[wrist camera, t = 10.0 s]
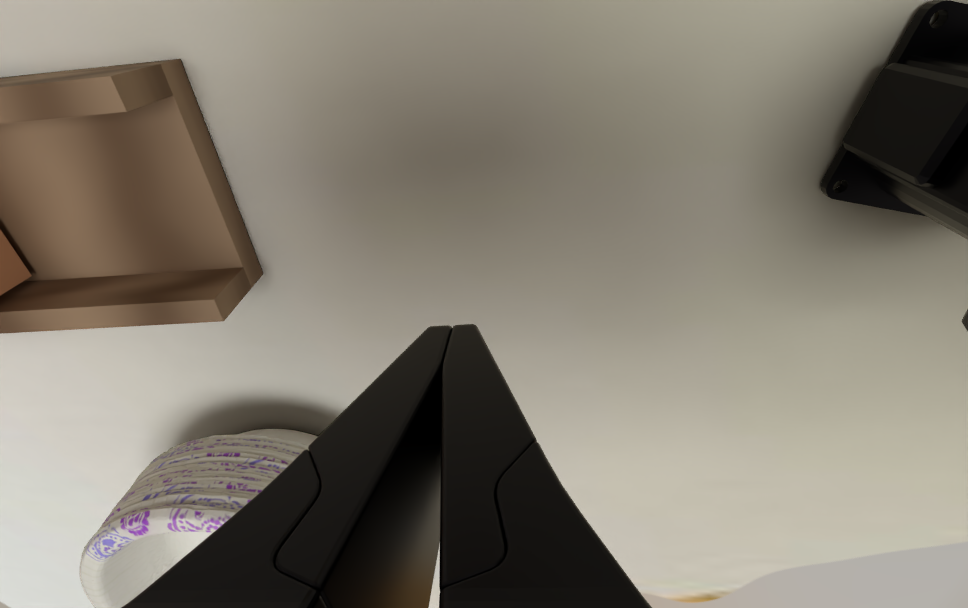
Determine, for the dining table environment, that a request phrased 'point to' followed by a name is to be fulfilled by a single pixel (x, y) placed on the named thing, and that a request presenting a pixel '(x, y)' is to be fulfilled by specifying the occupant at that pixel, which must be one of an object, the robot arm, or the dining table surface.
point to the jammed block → (10, 266)
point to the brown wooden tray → (116, 202)
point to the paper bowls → (180, 508)
